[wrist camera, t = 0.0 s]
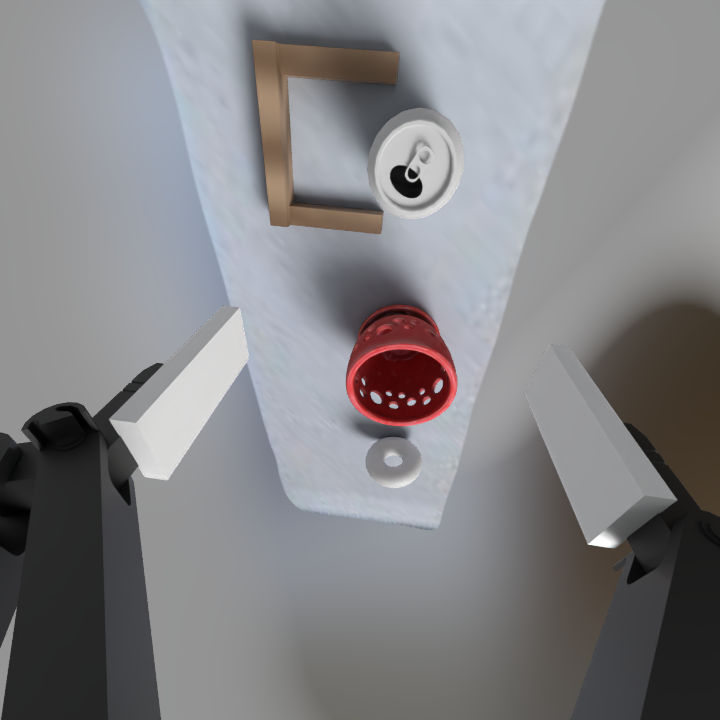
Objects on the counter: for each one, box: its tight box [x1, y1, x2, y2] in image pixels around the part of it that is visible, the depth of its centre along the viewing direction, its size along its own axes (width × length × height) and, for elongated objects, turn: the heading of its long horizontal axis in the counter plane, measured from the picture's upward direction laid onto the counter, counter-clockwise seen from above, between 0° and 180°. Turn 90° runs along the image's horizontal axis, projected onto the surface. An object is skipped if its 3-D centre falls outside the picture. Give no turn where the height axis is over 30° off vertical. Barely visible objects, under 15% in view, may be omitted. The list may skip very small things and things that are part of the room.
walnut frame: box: [252, 40, 399, 234], centre depth 32 cm, size 15×12×3 cm
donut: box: [366, 437, 422, 488], centre depth 56 cm, size 10×3×10 cm, turn 96°
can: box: [367, 107, 464, 219], centre depth 28 cm, size 8×8×12 cm
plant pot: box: [346, 305, 457, 426], centre depth 41 cm, size 13×13×12 cm
